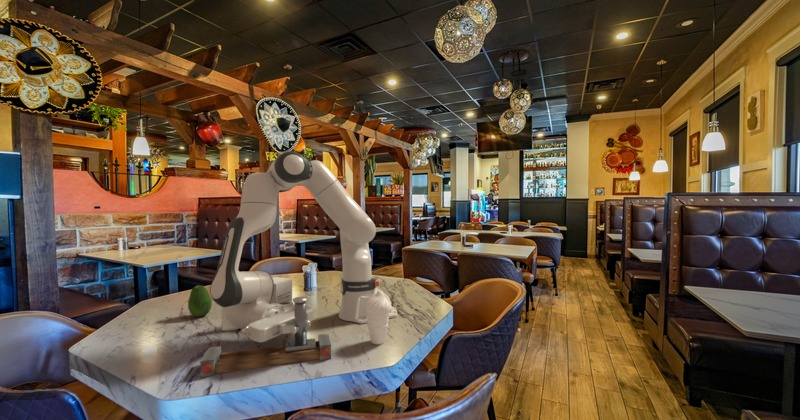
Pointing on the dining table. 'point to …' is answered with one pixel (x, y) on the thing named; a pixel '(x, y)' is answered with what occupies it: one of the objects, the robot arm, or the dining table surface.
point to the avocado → (199, 301)
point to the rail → (260, 357)
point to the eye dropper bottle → (226, 322)
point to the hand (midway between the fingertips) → (303, 327)
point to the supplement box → (282, 290)
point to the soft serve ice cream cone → (378, 317)
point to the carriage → (300, 328)
